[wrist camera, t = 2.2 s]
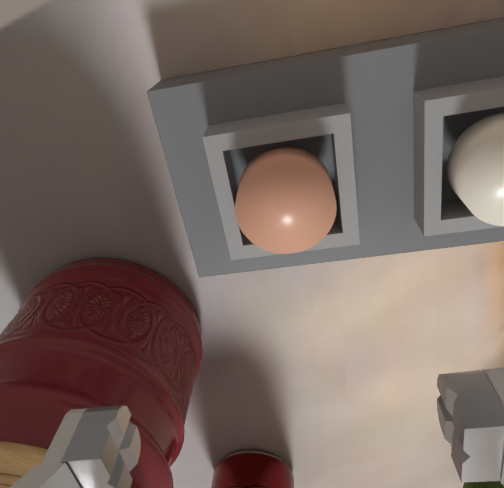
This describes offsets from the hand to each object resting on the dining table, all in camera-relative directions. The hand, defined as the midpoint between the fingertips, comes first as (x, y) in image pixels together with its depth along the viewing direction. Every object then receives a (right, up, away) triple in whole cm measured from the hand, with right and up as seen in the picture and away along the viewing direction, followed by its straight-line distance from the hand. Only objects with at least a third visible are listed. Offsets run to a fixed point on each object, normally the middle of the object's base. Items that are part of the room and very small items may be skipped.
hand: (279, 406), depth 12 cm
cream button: (+11, +8, +10) cm, 17 cm away
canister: (-11, -2, +23) cm, 25 cm away
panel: (+11, +10, +14) cm, 20 cm away
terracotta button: (+1, +7, +11) cm, 13 cm away
